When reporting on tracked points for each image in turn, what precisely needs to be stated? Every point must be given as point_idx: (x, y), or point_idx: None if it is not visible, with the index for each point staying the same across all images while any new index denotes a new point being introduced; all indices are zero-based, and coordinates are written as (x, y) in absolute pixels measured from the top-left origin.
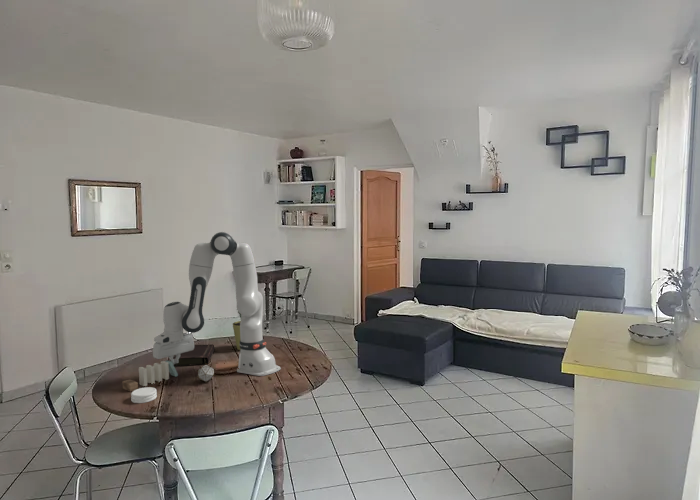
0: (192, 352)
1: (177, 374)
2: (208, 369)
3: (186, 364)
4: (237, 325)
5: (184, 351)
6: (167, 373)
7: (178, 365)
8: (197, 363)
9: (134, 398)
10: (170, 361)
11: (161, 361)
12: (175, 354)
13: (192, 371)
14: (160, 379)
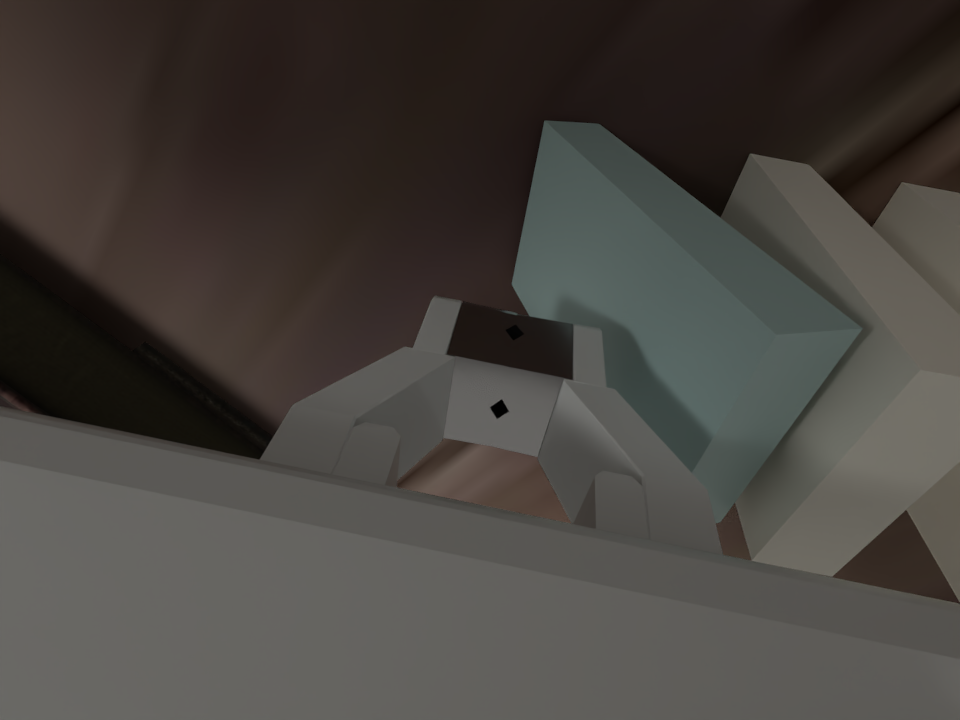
0: None
1: (562, 129)
2: None
3: (162, 386)
4: None
5: (2, 442)
6: (822, 207)
7: (252, 445)
8: (11, 281)
9: None
10: (744, 393)
11: (820, 566)
12: (550, 525)
13: (219, 65)
14: (954, 205)
